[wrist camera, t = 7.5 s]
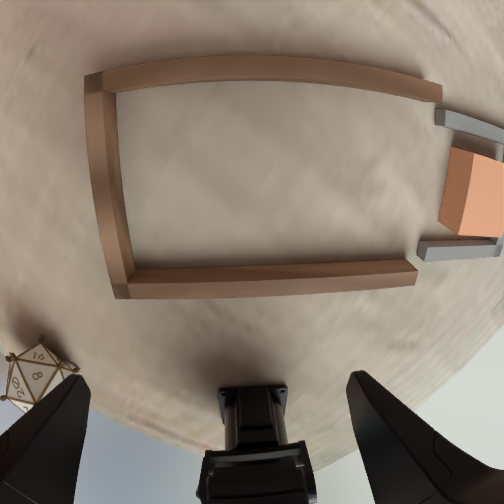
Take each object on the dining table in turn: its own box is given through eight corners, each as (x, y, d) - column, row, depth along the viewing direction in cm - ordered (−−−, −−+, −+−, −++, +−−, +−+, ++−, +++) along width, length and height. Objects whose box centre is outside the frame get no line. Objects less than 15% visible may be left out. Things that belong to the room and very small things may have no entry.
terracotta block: (480, 224, 20) (501, 237, 18) (435, 220, 20) (458, 234, 17) (493, 159, 18) (516, 168, 15) (448, 146, 17) (474, 153, 15)
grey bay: (492, 250, 21) (499, 256, 20) (416, 254, 21) (424, 261, 20) (512, 134, 16) (521, 137, 15) (435, 108, 16) (445, 109, 15)
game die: (54, 332, 27) (-20, 355, 18) (76, 319, 22) (-20, 348, 14) (85, 405, 26) (16, 436, 18) (116, 410, 22) (28, 454, 13)
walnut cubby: (402, 272, 21) (414, 285, 20) (123, 283, 20) (115, 298, 18) (425, 86, 15) (442, 85, 13) (98, 78, 14) (84, 75, 12)
